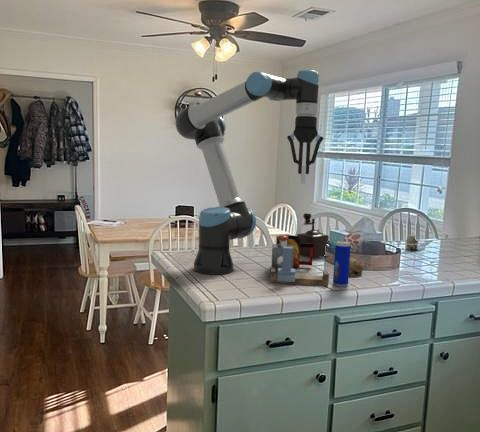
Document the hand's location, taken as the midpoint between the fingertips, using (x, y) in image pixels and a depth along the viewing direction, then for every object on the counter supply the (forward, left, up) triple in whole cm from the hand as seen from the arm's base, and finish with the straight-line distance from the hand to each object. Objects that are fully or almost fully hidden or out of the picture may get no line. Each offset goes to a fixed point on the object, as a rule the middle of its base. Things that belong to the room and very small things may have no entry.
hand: (302, 183), depth 172 cm
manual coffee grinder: (+6, +44, -35) cm, 56 cm away
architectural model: (+58, +67, -35) cm, 95 cm away
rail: (0, -7, -34) cm, 35 cm away
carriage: (-5, -7, -34) cm, 35 cm away
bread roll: (+19, +11, -35) cm, 41 cm away
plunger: (-6, +6, -27) cm, 28 cm away
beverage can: (+14, -7, -35) cm, 38 cm away
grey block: (-6, +6, -34) cm, 35 cm away
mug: (-2, +17, -35) cm, 39 cm away
